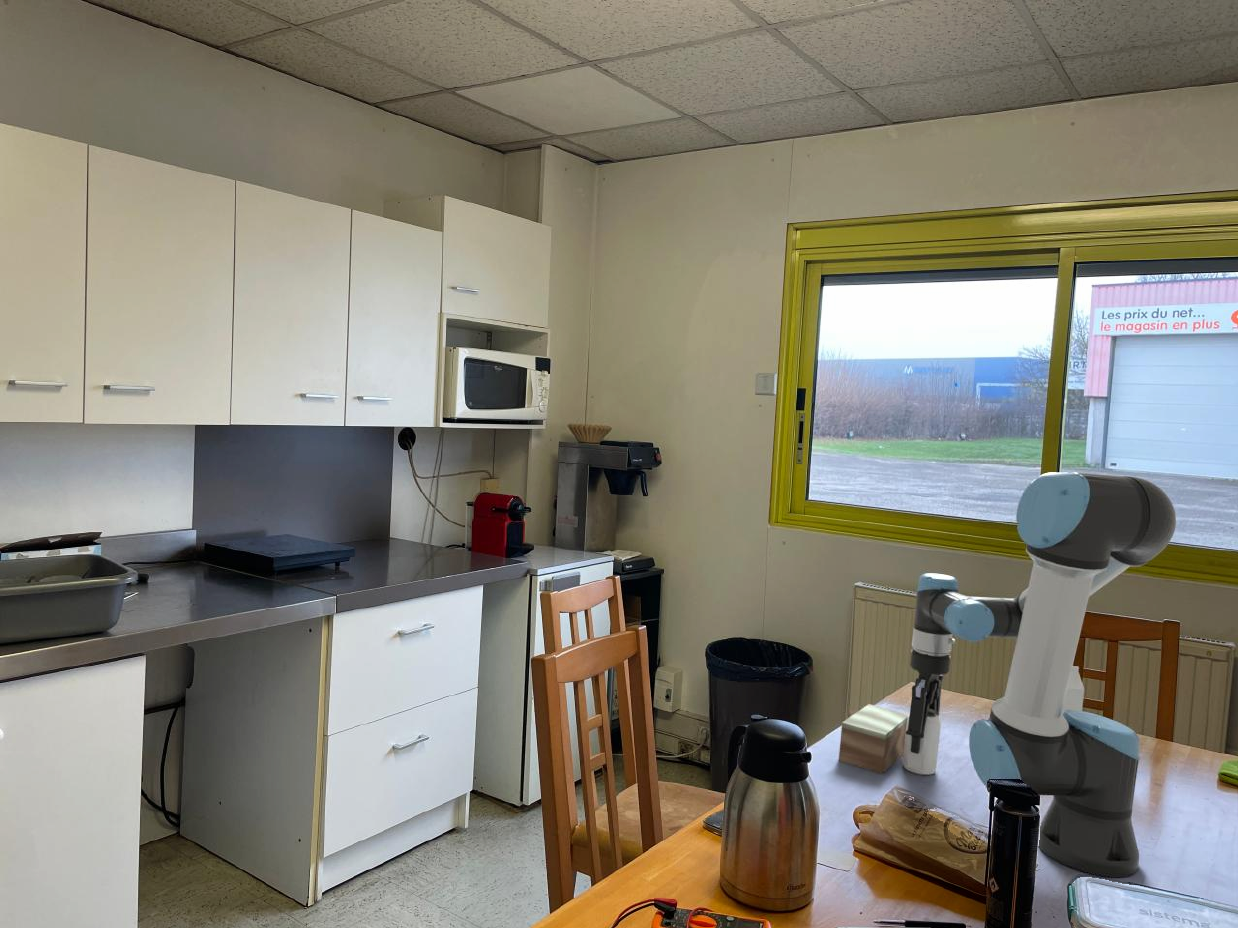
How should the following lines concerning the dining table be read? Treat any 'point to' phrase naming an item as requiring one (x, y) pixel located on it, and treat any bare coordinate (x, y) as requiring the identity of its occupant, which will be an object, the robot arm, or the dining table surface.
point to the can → (926, 745)
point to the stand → (873, 738)
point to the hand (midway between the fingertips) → (919, 762)
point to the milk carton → (1074, 692)
